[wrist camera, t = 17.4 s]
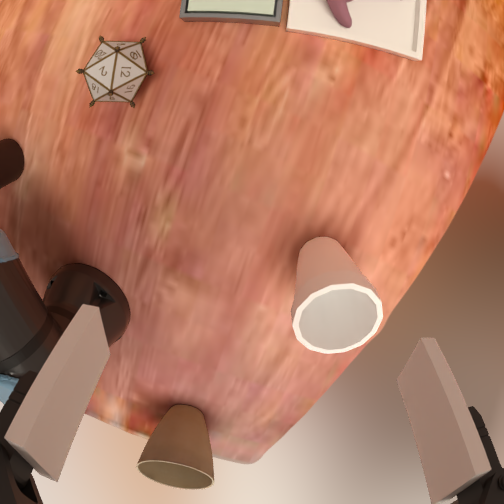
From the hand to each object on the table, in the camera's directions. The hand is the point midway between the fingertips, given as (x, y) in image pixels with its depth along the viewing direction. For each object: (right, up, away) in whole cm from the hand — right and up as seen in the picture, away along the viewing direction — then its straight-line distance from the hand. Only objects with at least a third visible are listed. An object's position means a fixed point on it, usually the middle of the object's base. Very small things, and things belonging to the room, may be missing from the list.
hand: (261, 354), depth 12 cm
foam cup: (+9, +3, +31) cm, 32 cm away
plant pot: (-14, -30, +50) cm, 60 cm away
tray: (+12, +34, +14) cm, 38 cm away
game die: (-15, +25, +20) cm, 35 cm away
